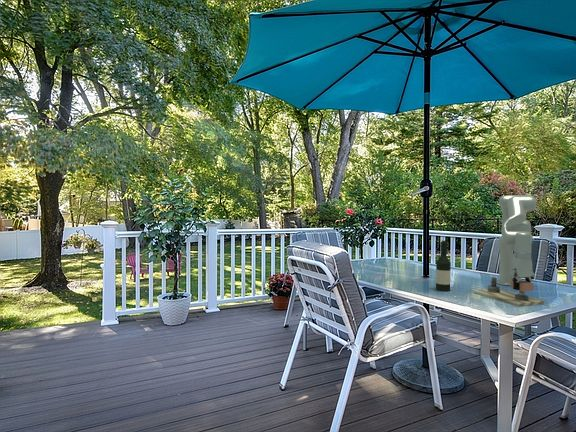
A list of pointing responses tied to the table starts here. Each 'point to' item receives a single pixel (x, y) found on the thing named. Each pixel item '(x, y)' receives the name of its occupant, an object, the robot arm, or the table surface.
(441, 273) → the wine bottle
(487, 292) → the board
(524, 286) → the collar
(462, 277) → the table surface
